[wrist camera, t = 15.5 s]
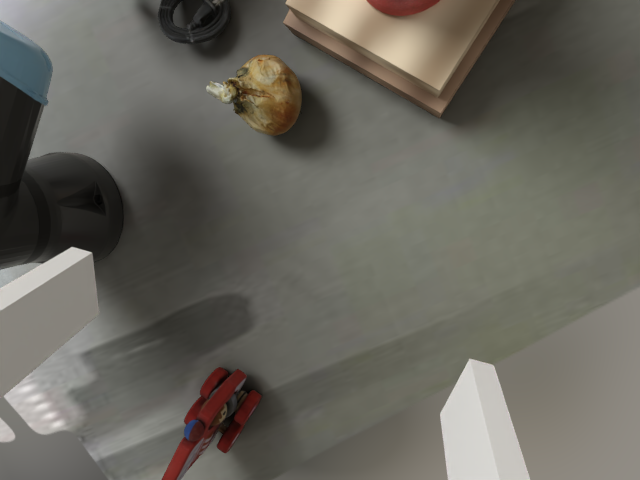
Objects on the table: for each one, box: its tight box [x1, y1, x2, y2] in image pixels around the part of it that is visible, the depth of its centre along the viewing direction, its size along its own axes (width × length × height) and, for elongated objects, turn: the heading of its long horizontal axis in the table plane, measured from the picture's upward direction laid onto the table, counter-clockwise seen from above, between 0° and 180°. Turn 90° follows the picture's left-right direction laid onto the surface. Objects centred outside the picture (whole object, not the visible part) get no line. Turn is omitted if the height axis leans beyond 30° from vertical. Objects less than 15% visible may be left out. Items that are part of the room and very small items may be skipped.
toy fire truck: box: [162, 367, 262, 480], centre depth 44 cm, size 7×12×10 cm, turn 151°
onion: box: [206, 55, 302, 136], centre depth 37 cm, size 8×8×8 cm
